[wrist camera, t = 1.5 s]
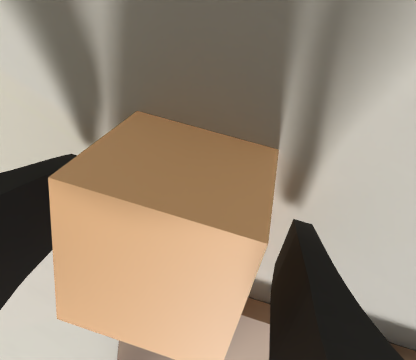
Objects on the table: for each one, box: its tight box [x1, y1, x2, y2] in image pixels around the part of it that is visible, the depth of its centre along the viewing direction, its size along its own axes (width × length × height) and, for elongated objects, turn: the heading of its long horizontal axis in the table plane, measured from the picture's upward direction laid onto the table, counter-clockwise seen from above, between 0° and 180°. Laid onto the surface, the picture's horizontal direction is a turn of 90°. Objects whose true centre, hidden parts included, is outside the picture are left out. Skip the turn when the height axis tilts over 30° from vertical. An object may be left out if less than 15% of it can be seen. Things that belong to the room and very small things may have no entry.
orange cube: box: [48, 111, 279, 360], centre depth 11 cm, size 5×5×5 cm
